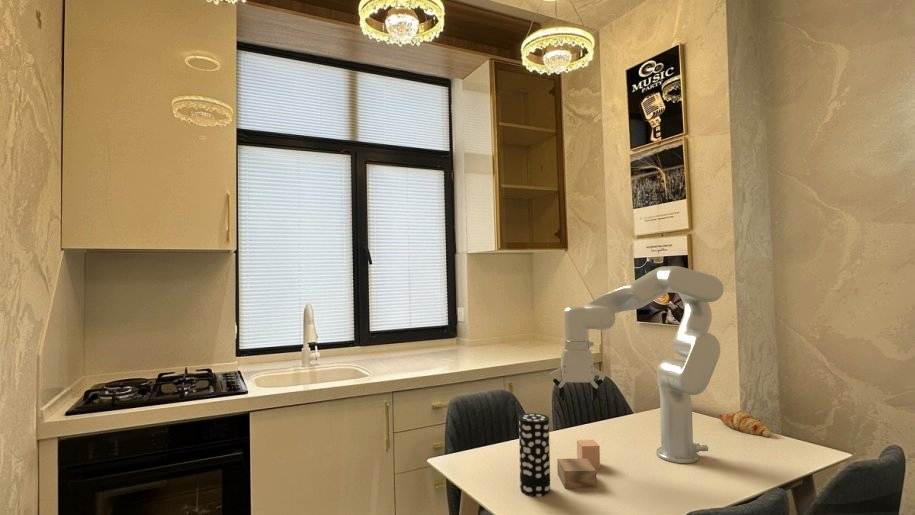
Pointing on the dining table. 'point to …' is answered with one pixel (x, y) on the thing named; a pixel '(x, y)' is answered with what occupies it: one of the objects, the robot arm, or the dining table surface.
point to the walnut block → (576, 473)
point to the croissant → (745, 423)
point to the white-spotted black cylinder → (534, 454)
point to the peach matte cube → (589, 452)
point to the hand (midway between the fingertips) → (577, 399)
